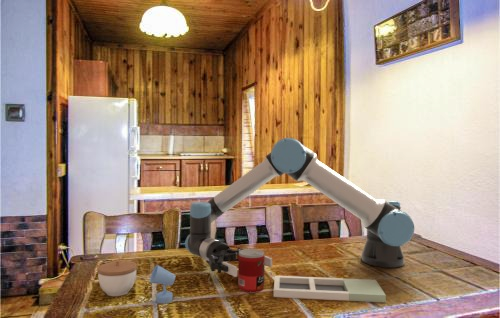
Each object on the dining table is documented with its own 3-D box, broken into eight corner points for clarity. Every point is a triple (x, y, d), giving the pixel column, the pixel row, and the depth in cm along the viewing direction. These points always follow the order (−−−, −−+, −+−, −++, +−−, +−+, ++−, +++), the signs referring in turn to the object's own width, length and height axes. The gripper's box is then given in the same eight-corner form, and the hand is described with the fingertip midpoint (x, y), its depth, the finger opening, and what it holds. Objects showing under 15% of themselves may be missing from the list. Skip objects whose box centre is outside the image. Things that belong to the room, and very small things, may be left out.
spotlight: (151, 305, 99) (176, 302, 101) (150, 268, 98) (176, 266, 101) (149, 298, 103) (173, 295, 106) (149, 263, 103) (173, 260, 105)
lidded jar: (144, 288, 111) (144, 257, 111) (120, 302, 101) (120, 268, 101) (115, 283, 115) (114, 253, 114) (89, 296, 104) (89, 263, 104)
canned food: (262, 294, 107) (262, 256, 107) (235, 291, 109) (235, 254, 108) (266, 284, 115) (266, 249, 114) (241, 282, 116) (241, 247, 116)
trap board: (375, 286, 114) (375, 279, 114) (385, 302, 102) (385, 295, 102) (275, 281, 117) (275, 275, 117) (273, 296, 105) (273, 290, 105)
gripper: (243, 255, 134) (284, 271, 118) (182, 269, 119) (219, 289, 102) (243, 235, 134) (284, 247, 118) (182, 246, 119) (219, 262, 102)
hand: (254, 267), depth 110 cm, fingers open, 13 cm apart
